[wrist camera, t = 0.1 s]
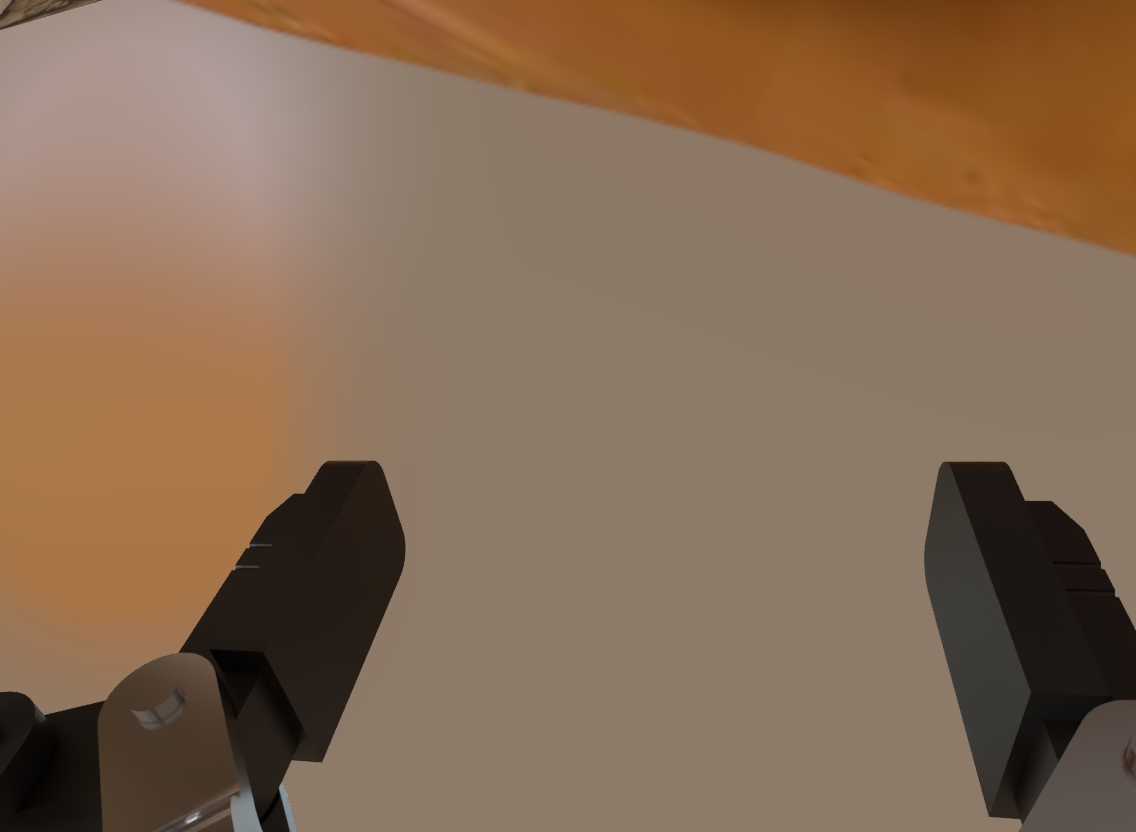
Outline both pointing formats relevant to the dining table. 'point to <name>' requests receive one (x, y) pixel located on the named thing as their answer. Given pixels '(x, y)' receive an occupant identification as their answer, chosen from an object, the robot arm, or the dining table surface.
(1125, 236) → the dining table surface
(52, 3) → the bark print canister
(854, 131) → the dining table surface
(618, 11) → the dining table surface
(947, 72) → the dining table surface
